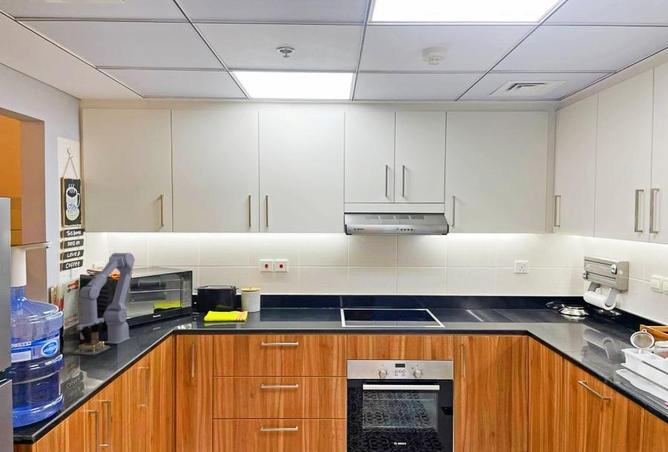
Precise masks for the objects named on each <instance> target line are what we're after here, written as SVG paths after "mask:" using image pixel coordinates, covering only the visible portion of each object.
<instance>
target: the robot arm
mask: <svg viewBox="0 0 668 452" xmlns="http://www.w3.org/2000/svg"><path fill="white" fill-rule="evenodd" d="M135 260H136V259H135V256H134V255H133V253H131V252H113V253H112V254H111V255H110V256H109V258H108V262H107V263H106V264H105V266H104V268H103V269H102V270H101V271H100V273H96V274H95V275H94V276H93V278H92V279H91V280H90V281H89V282H88V283H87V284H86V286H83V287H81V288H80V290H79V293H78V298H79V297H80V298H81V302H82V304H83V323H81V324H80V325H79V324H78V325H76V331H79V333H80V332H81V333H82V335H83V337H84V339H83V340H84V343H85V342H86V343H90V341H91V332H98V335H99V334H100V331H101V329H102V327H103V323H104V322H105V324H106V325H107V339H108V340H106V341H104V344H117V345H118V344H121V343H122V342H125V341H127V340H130V339H131V337H130V333H129V332H130V331H129V330H130V329H129V328H130V327H129V325H128V322H127V319H128V308H127V306H126V305H125V302H126V297H127V294H128V290H129V286H130V282H131V279H132V274H133V268H134V264H135ZM115 269H116V270H118V271H119V276H118V280H117V283H116V287H115V291H114V295H113V297H112V298H113V299H112V302H111V303H110V304H109V305H108V306H107V307H106V310H105V311H104V313H103V315H102V317H100V318H99V317H98V304H97V303H98V302H97V298H98V297H99V296H100V292H101V289H102V288H103V286H104V285H106V283H107V282H108V281H107V278H108V277H109V276H110V275H111V274H112V273H113V272H114V271H115ZM89 327H90V328H89Z"/></svg>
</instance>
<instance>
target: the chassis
mask: <svg viewBox="0 0 668 452" xmlns="http://www.w3.org/2000/svg"><path fill="white" fill-rule="evenodd" d="M104 342H105V341H103V342H102V343H104ZM81 346H82V345H81V344H79V345H78V349H76V350H74V351H73V354H74V355H90V356H94V355H97V354H99V353H102V352H104V351H107V350H109V349H110V348H111V346H110V345H105V343H104V345H102V346H100V347H97V348H96V347H95V346H94V345H93V346H92V348H91V349H82V348H81Z"/></svg>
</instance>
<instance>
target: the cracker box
mask: <svg viewBox="0 0 668 452" xmlns="http://www.w3.org/2000/svg"><path fill="white" fill-rule="evenodd" d="M77 311H78V325H80V324H81V323H83V304H82V302H81V298H80V297H79V296H78V298H77ZM89 328H90V327H89ZM79 339H80V340H84V337H83V335H82V333H81V332H80V331H79Z"/></svg>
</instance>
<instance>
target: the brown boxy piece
mask: <svg viewBox="0 0 668 452" xmlns="http://www.w3.org/2000/svg"><path fill="white" fill-rule="evenodd" d="M99 338H100V337H99V335H98V332H91V341H90V343H86V342H85V341H84V343H82V344H80V345H82V346H81V348H82V349H91V348H92V346H93V345H94V346H95V347H96V348H97V347H100V346H102V345H104V346H105V343H102V342H103V341H101V340H99Z"/></svg>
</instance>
